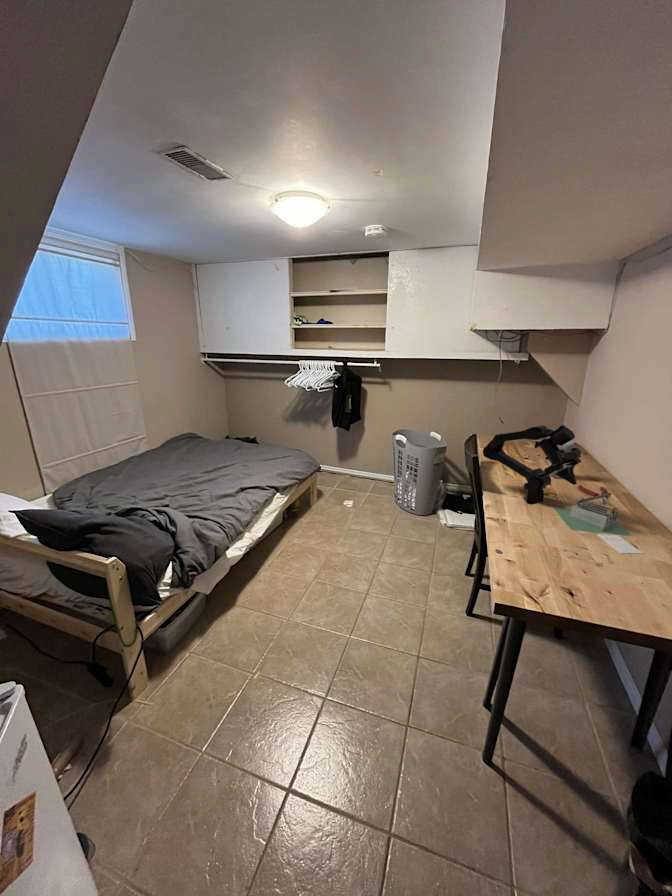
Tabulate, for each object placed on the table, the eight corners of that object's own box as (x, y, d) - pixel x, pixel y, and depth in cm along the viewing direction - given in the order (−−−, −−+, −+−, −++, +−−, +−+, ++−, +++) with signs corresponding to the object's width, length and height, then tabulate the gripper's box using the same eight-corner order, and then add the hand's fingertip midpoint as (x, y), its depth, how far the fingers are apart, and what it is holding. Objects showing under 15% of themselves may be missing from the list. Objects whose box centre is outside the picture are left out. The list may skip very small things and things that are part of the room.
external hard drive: (618, 557, 122) (594, 538, 134) (643, 557, 122) (617, 538, 134) (619, 552, 122) (595, 534, 133) (645, 553, 121) (618, 534, 133)
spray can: (567, 475, 196) (574, 439, 191) (567, 480, 190) (574, 443, 184) (549, 472, 201) (556, 437, 195) (549, 477, 194) (555, 440, 189)
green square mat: (570, 532, 137) (571, 529, 137) (552, 509, 156) (553, 507, 155) (631, 538, 133) (632, 536, 132) (605, 514, 152) (606, 512, 151)
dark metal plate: (579, 503, 146) (578, 501, 146) (582, 501, 147) (581, 499, 147) (608, 496, 137) (607, 494, 137) (611, 494, 138) (610, 492, 138)
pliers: (591, 504, 162) (592, 499, 161) (576, 488, 180) (577, 483, 180) (621, 508, 159) (623, 502, 158) (602, 491, 177) (603, 486, 177)
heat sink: (568, 518, 146) (571, 501, 144) (583, 511, 152) (586, 494, 150) (602, 531, 136) (606, 512, 134) (616, 523, 142) (621, 505, 140)
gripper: (556, 444, 142) (581, 479, 136) (580, 438, 152) (605, 471, 146) (533, 458, 151) (556, 492, 145) (557, 452, 160) (580, 483, 154)
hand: (575, 484), depth 147 cm, fingers closed
